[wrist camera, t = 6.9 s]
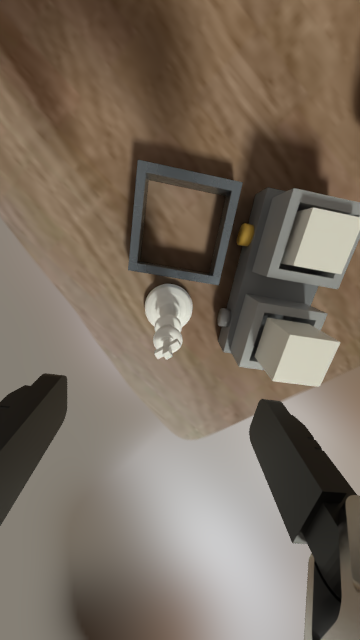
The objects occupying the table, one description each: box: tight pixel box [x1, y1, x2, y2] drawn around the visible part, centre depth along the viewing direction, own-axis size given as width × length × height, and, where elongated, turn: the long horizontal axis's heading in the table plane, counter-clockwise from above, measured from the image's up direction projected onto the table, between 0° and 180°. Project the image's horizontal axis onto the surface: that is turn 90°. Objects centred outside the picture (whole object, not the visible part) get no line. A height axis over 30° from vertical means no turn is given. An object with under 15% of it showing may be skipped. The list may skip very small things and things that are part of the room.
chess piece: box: [145, 284, 193, 360], centre depth 17 cm, size 5×5×10 cm
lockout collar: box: [128, 160, 243, 285], centre depth 18 cm, size 8×8×2 cm
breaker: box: [255, 318, 340, 387], centre depth 16 cm, size 4×4×3 cm
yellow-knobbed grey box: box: [218, 187, 360, 370], centre depth 19 cm, size 14×8×6 cm, turn 170°
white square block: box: [281, 208, 360, 274], centre depth 16 cm, size 4×4×3 cm
